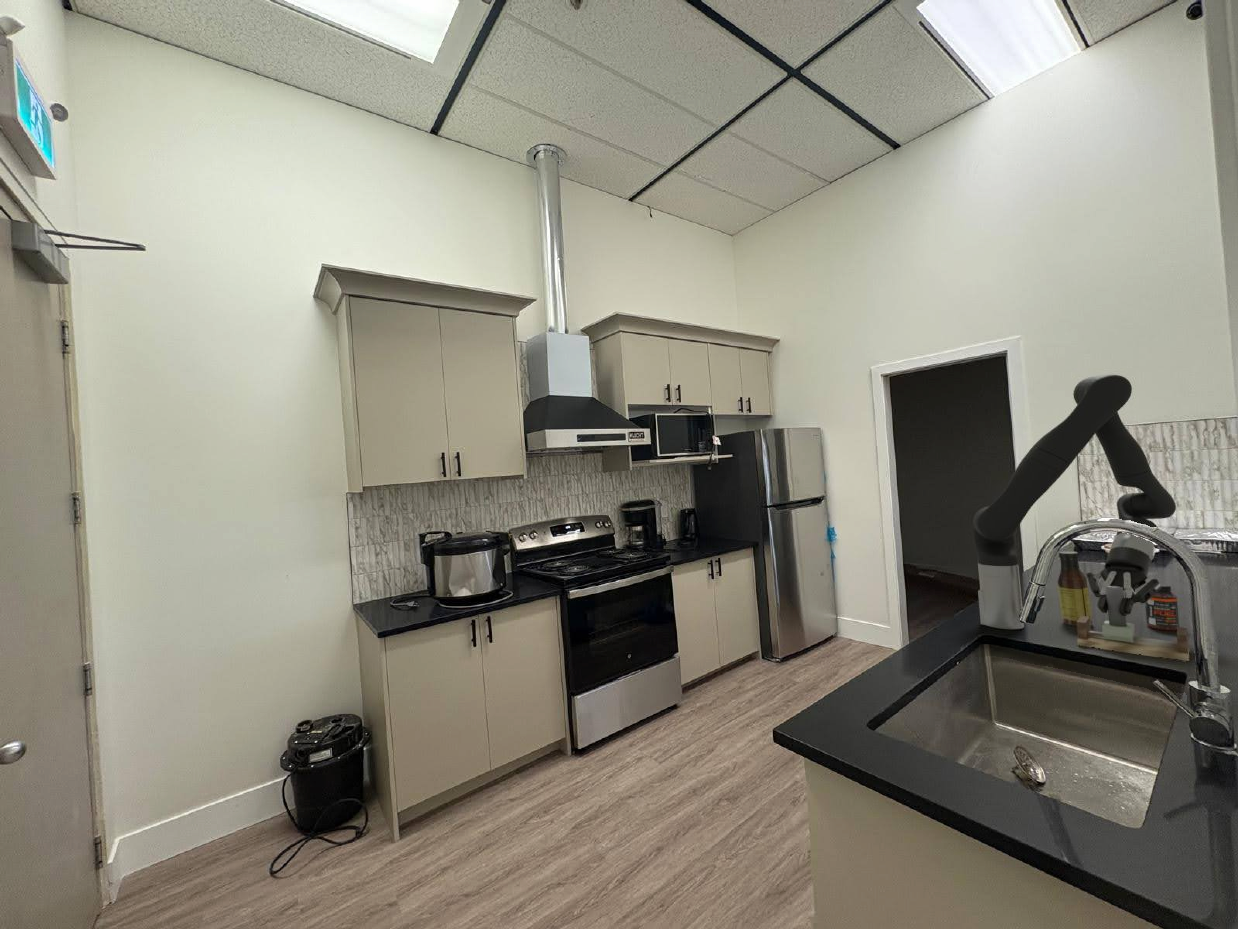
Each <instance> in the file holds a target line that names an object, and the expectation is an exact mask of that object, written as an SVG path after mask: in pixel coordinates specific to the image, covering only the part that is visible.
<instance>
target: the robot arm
mask: <svg viewBox="0 0 1238 929" xmlns="http://www.w3.org/2000/svg"><path fill="white" fill-rule="evenodd" d="M1132 393H1133V387H1132V384H1131V382H1130V381H1129V379H1128V378H1126V376H1123V375H1120V374H1102V375H1094V376H1091V377H1087V378H1084V379H1082V380H1081V381H1079V382H1078V383H1077V384H1076V386H1075V387H1074V389H1073V394H1072V395H1073V399H1074V402H1075V404H1076V406H1075V407H1074V409H1073V410H1072V411H1071V413H1070V414H1069V415H1068V416H1067V417H1066V418H1065V419H1064V420H1063V421H1061V422H1060V423H1059V424H1057V425H1056V426H1055V427H1054V428H1052V429H1051V430H1049V432H1047V433H1046V434H1045V435H1043V436H1042V437H1040V439H1038V440H1037V441H1036V443H1034V445H1032V447H1031V448H1030V449H1029V451H1028V452H1027V453H1026V454H1025V455H1024V457H1023V458H1022V459H1021V461H1020V462H1019V463H1018V466H1017V467H1016V469H1015V471H1014V473H1013V474H1012V476H1011V479H1010V480H1009V483H1008V485H1007V486H1006V487H1005V489H1004V490H1003V492H1001V493H1000V495H999V496H998V497H997V498H996V499H995V500H994V501H993V502H992V503H990V505H989V506H985V507H982V508H981V509H978V510H977V511H976V512H975V514H974V516H973V519H972V520H973V522H972V524H973V527H972V528H973V537H974V547H975V553H976V558H977V568H978V579H979V588H980V589H979V590H978V591H977V594H978V595H977V596H978V597H977V598H978V609H979V619H980V624H981V625H983V626H987V627H990V628H996V629H1002V630H1020V629H1023V628H1025V623H1021V622H1020V619H1019V615H1020V611H1021V609H1023V600H1022V591H1021V578H1020V569H1019V557H1018V556H1019V555H1018V554H1017V550H1016V546H1015V537H1014V534H1015V532H1016V531H1017V529H1018V527H1019V526H1020V525H1021V524H1022V521H1023V520H1024V519H1025V517H1026V515H1027V514H1028V513H1029V511H1030V509H1031V508H1032V507H1033V506H1034V505H1035V504H1036V502H1037V501H1038V500H1039V499H1041V497H1042V496H1044V494H1045V493H1046V492H1048V490H1049V489H1050V488H1051V487H1052V486H1053V485H1054V484H1055V483H1056V482H1057V481H1058V479H1060V477H1061V476H1062V475H1063V474H1064V473H1065V472H1066V470H1067V469H1068V468H1069V467H1070V465H1071V464H1072V463H1073V462H1074V460H1075V459H1076V458H1077V457H1078V455H1080V453H1081V452H1082V451H1083V450H1084V448H1085V447H1086V446H1087V444H1088V443H1089V442H1090V441H1091V440H1092V439H1093V437H1094V436H1096V437H1097V439H1098V441H1099V443H1100V445H1101V447H1102V449H1103V452H1104V454H1105V456H1106V459H1107V462H1108V464H1109V466H1110V469H1111V472H1112V474H1113V476H1114V479H1115V481H1116V483H1117V484H1118V486H1121V487H1127V488H1135V489H1139V490H1140V491H1141V492H1131V493H1130V492H1129V493H1125V494H1123V495H1121V496H1120V497H1119V498H1118V499H1117V502H1116V507H1117V508H1116V509H1117V513H1118V520H1119V519H1122V520H1131V521H1134V522H1137V523H1141V524H1146V525H1148V526H1150V527H1157V528H1158V526H1157V524H1156V523H1155V522H1153V521H1152V520H1156V519H1157V520H1159V519H1161V520H1162V519H1168V518H1171V517H1172V516H1174V514H1175V513H1176V512H1175V511H1176V509H1177V508H1176V502H1175V499H1174V497H1172V495H1171V493H1169V491H1168V490H1167V489H1166V488H1165V487H1164V486H1163V485H1162V484H1161V482H1160V481H1159V480H1158V478H1156V476H1155V475H1154V473H1153V472H1152V469H1151V467H1150V464H1149V461H1148V459H1147V457H1146V454H1145V452H1144V450H1143V448H1142V446H1141V445H1140V444H1139V443H1138V441H1137V440H1136V439H1135V437H1133V435H1132V434H1131V433H1130V432H1129V430H1128V429H1127V428H1126V426H1125V425H1124V423H1123V421H1122V419H1121V416H1120V414H1119V413H1118V412H1119V411H1120V409H1122V408H1124V406H1125V405H1126V404H1127V403H1128V401H1129V399H1130V398H1131V395H1132ZM1154 547H1155V544H1153V543H1152V542H1150V541H1146V540H1145V539H1143V538H1141V537H1136V536H1134V535H1132V534H1127V533H1122V532H1116V535H1115V537H1114V539H1113V541H1112V542H1111V545H1110V549H1109V552H1108V555H1107V557H1106V562H1105V564H1104V568H1103V569H1102V570H1101V571H1100V573H1094V574H1093V573H1092V572H1087V573H1086V579H1087V581H1088V585H1089V587H1090V590H1091V592H1092V593H1093V595H1094V596H1095V598H1098V601H1097V603H1096V606H1097V608H1098V609H1099V611H1101V613H1103V614H1107V613H1108V606H1107V596H1106V586H1118V587H1123V592H1124V598H1123V599H1122V602H1121V606H1120V609H1119V612H1120V613H1121V615H1122V616H1126V617H1127V616H1128V615H1131V613H1132V610H1133V607H1134V605H1135V604H1137V603H1140V604H1145V603H1146V602H1147V601H1148V600H1149V599H1150V598H1151V597H1152V596H1154V595H1155V594H1156V593H1157V592H1158V591H1159V590H1160V589H1161V588H1162V587H1161V585H1160V584H1161V583H1160V582H1159V580H1158V579H1157V578H1153V579H1151V578H1150V577H1148V573H1149V570H1150V567H1151V563H1152V560H1153V558H1154V552H1155V548H1154ZM1102 579H1103V581H1104V582H1103V584H1102V585H1103V586H1102V588H1101V590H1100V588H1099V584H1100V582H1101V580H1102ZM1143 585H1144V586H1143ZM1141 586H1142V587H1141ZM1140 587H1141V589H1140V590H1138V589H1139V588H1140ZM1137 590H1138V591H1137Z"/></svg>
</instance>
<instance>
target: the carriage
mask: <svg viewBox="0 0 1238 929" xmlns="http://www.w3.org/2000/svg"><path fill="white" fill-rule="evenodd" d="M1106 596H1107V606H1108V610H1107V613H1108V614H1107V615H1108V620H1105V621H1104V622H1103V623H1102V625H1101V632H1103V635H1104V639H1111V640H1118V641H1126V642H1134V640H1133V636H1135V637H1136V634H1135V632H1136V631H1135V624H1134V623H1128V622H1127V616H1122V615H1121V613H1120V612H1119V609H1120V606H1121V602H1122V599H1123V598H1125V593H1124V590H1123V587H1118V586H1106Z"/></svg>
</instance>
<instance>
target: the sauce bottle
mask: <svg viewBox="0 0 1238 929" xmlns="http://www.w3.org/2000/svg"><path fill="white" fill-rule="evenodd" d="M1058 558H1059V560H1060V571H1059V572H1060V573H1059V575H1058V579H1057V587H1058V589H1057V590H1058V595H1059V596H1058V597H1059V601H1060V602H1059V605H1060V611H1061V617H1062V620H1063V623H1064V624H1066V625H1069V626H1073V627H1077V621H1078V619H1079V618H1080V617H1081V616H1086V617H1090V624H1091V626H1092V625H1093V621H1092V620H1093V615H1092V608H1091V607H1092V606H1091V600H1090V593H1089V586H1088V584H1087V583H1088V582H1087V581H1088V580H1087V576H1085V574H1084V573H1083V571H1081V569H1080V565H1079V553H1078V552H1077V551H1067V550H1065V551H1059V552H1058Z"/></svg>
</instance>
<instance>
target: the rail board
mask: <svg viewBox="0 0 1238 929" xmlns="http://www.w3.org/2000/svg"><path fill="white" fill-rule="evenodd" d="M1076 629H1077V630H1076V632H1077V646H1078V645H1080V646H1079V647H1085V646H1086V647H1085V648H1091V647H1095V648H1094V649H1098V648H1100V650H1105V651H1106V650H1107V651H1112V650H1114V651H1113V652H1119V653H1126V654H1133V655H1134V654H1135V655H1139V654H1141V655H1140V656H1147V657H1155V658H1159V657H1163V658H1162V659H1166V658H1172V659H1180V660H1188V661H1189V662H1190V655H1189V652H1190V653H1191V650H1190V643H1189V635H1188V634H1189V633H1188V628H1187V627H1181V626H1180V627H1178V630H1176V641H1172V640H1165V639H1156V638H1150V637H1149V638H1148V637H1143V636H1136V635H1135V636H1133V640H1134V642H1126V641H1118V640H1111V639H1104V635H1103V632H1102V631H1097V630H1092V625H1091V624H1090V617H1086V616H1081V617H1080V618H1079V619H1078V621H1077V626H1076ZM1172 659H1171V660H1172Z"/></svg>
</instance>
